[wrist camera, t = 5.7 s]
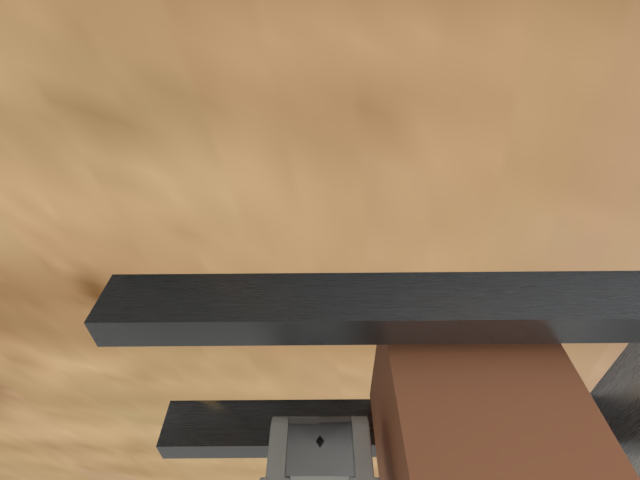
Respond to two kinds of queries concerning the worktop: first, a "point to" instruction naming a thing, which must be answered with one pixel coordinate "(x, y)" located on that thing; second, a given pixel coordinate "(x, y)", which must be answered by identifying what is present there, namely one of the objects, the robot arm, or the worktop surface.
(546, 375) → the block
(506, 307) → the rail
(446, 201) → the worktop surface
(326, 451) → the robot arm
